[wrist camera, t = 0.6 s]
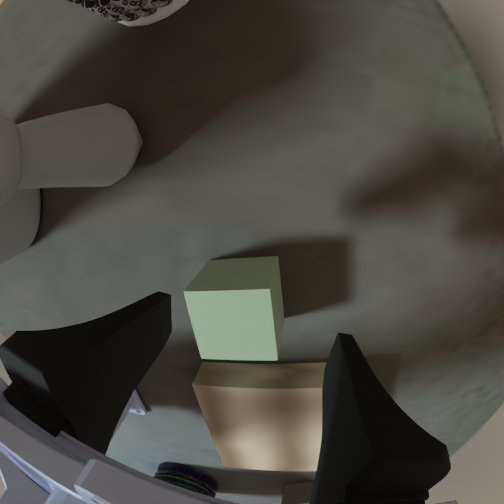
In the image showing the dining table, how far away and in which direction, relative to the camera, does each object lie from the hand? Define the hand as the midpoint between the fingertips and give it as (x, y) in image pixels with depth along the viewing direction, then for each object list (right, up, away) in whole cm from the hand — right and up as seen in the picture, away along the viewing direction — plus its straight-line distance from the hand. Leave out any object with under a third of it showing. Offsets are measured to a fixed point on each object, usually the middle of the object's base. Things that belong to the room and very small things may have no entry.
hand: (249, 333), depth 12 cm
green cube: (0, +1, +10) cm, 10 cm away
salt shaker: (-10, +11, +8) cm, 17 cm away
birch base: (+3, -12, +14) cm, 19 cm away
